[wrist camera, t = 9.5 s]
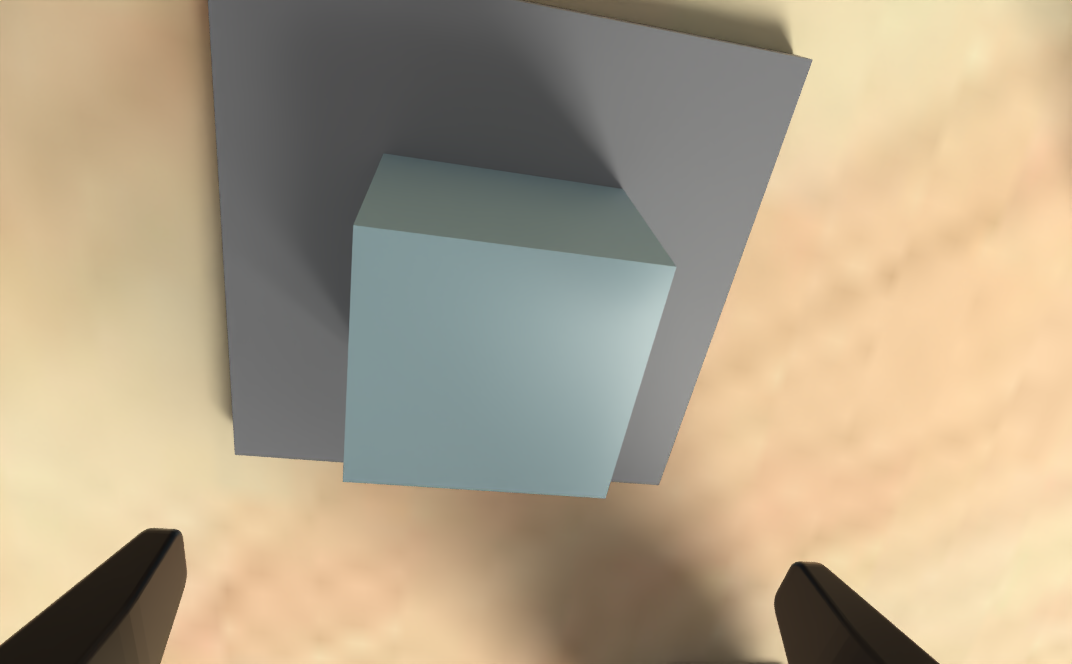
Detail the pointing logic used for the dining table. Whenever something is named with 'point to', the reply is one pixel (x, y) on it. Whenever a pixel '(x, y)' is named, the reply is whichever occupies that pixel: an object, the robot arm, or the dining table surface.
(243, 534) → the dining table surface
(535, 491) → the pale blue cube
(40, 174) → the dining table surface
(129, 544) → the robot arm
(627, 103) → the post stand
